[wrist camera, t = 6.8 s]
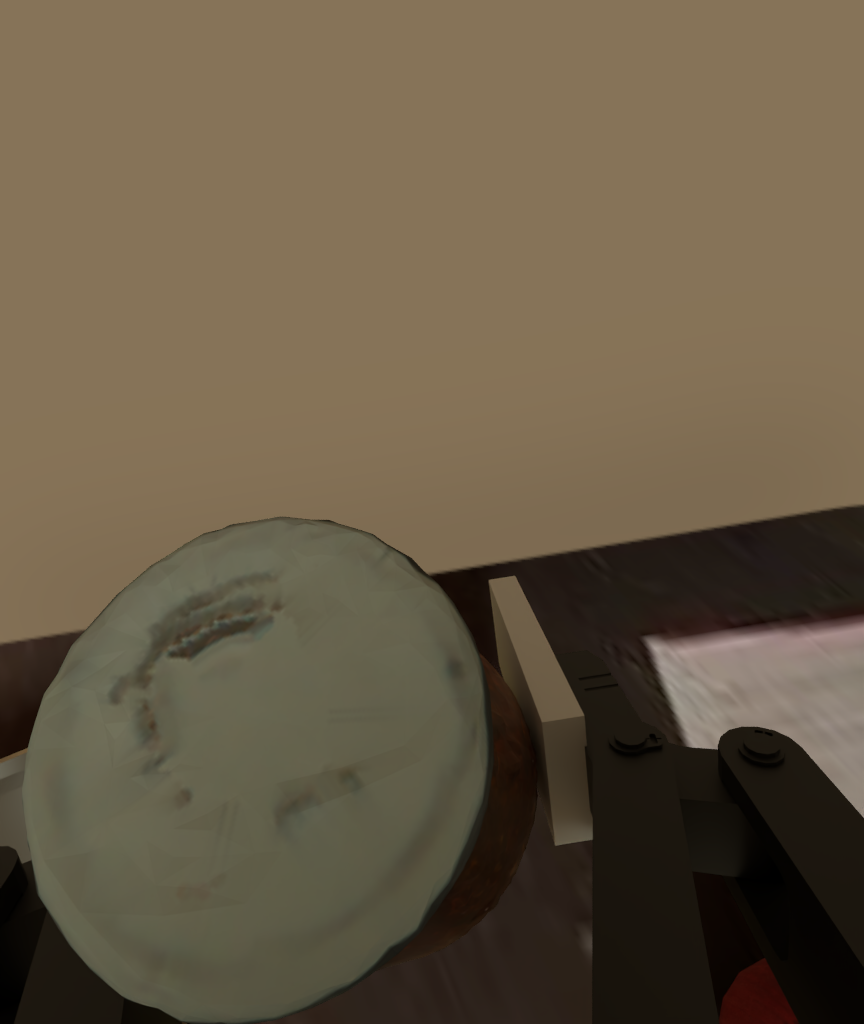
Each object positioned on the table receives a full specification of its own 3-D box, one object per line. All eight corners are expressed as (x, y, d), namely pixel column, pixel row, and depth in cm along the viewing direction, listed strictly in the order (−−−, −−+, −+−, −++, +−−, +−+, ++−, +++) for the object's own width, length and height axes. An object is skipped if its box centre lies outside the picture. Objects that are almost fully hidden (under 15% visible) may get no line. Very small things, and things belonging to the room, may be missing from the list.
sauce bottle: (358, 703, 24) (57, 368, 7) (511, 712, 24) (600, 372, 6) (334, 890, 21) (-321, 1135, 4) (510, 907, 21) (673, 1287, 3)
